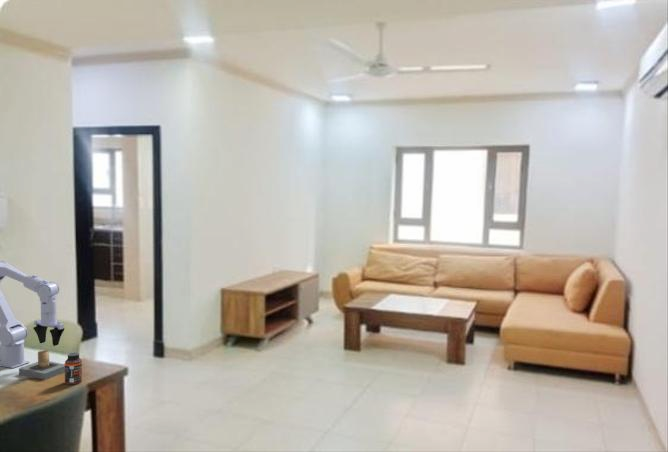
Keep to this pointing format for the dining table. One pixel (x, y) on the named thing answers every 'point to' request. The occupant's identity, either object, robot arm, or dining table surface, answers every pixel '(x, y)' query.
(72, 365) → the supplement bottle
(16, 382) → the dining table surface
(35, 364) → the board
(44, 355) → the peg
